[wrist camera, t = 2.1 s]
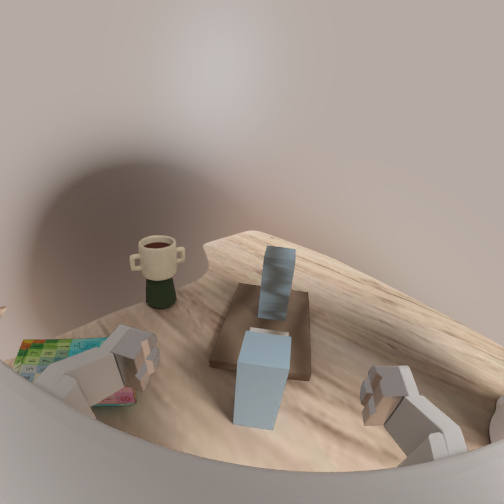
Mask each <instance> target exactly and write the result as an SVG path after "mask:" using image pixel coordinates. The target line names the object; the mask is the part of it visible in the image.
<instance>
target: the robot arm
mask: <svg viewBox="0 0 504 504" xmlns="http://www.w3.org/2000/svg"><path fill="white" fill-rule="evenodd" d="M156 343H157V338H156V335H155V334H153V333H150V332H146V331H143V330H140V329H136V328H133V327H129V326H126V325H123V324H121V325H119V326H118V327H117V328H116V329H115V330H114V331H113V332H112V334H111V335H110V336H109V337H108V338H107V339H106V341H105V342H104V343H103V344H102V345H101V346H100V348H98V347H95V348H92V349H90V350H87V351H84V352H82V353H79V354H76V355H74V356H71V357H68V358H66V359H63V360H60V361H57V362H55V363H52V364H49V366H48V367H47V368H46V369H45V370H44V371H43V372H42V373H41V374H40V376H39V377H38V378H37V379H36V380H35V381H34V383H31V382H30V381H28V380H27V379H25V378H24V377H23V376H21V375H20V374H18V373H17V372H16V371H14V370H13V369H12V368H10V367H9V366H8V365H6V364H5V363H4V362H3V361H1V360H0V504H504V396H501V397H500V398H499V399H498V400H497V403H496V411H495V413H494V415H493V417H492V419H491V422H490V428H489V434H490V440H491V444H489V445H486V446H483V447H480V448H477V449H474V450H471V451H468V449H467V446H466V443H465V440H464V437H463V434H462V431H461V428H460V427H459V426H458V425H457V424H456V423H455V422H453V421H452V420H451V419H450V418H449V417H448V416H446V415H445V414H444V413H443V412H442V411H441V410H439V409H438V408H437V407H436V406H435V405H434V404H432V403H431V402H430V401H429V400H428V399H427V398H425V397H424V396H420V394H419V391H418V389H417V386H416V383H415V380H414V378H413V375H412V372H411V370H410V367H409V366H408V365H404V366H380V365H373V366H372V367H371V368H370V370H369V372H368V374H369V377H368V378H367V379H365V380H364V382H363V384H362V386H361V391H360V402H361V404H362V405H363V406H364V407H365V408H364V410H363V411H362V415H363V422H364V426H375V425H384V427H385V429H386V430H387V431H388V433H389V434H390V435H391V436H392V438H393V439H394V440H395V442H396V443H397V444H398V445H399V447H400V448H401V449H402V451H403V452H404V453H405V454H406V456H407V458H406V459H404V460H403V461H402V462H401V463H400V464H399V465H398V466H397V467H396V468H389V469H380V470H369V471H354V472H301V471H286V470H275V469H266V468H258V467H251V466H244V465H238V464H232V463H227V462H222V461H217V460H213V459H208V458H204V457H200V456H196V455H192V454H188V453H184V452H181V451H177V450H174V449H171V448H167V447H164V446H161V445H158V444H155V443H152V442H149V441H146V440H144V439H141V438H138V437H136V436H133V435H130V434H128V433H125V432H123V431H120V430H118V429H116V428H113V427H111V426H109V425H107V424H104V423H102V422H100V421H98V420H96V417H95V415H94V413H93V411H92V409H91V408H90V407H91V406H93V405H95V404H96V403H98V402H100V401H102V400H103V399H105V398H107V397H108V396H110V395H112V394H113V393H115V392H117V391H118V390H120V389H122V388H123V387H124V386H127V387H130V388H133V389H136V390H139V391H144V390H145V388H146V386H147V384H148V383H149V381H150V378H149V375H150V374H152V373H154V372H155V370H156V369H157V367H158V363H159V350H158V349H157V347H156V346H155V345H156Z"/></svg>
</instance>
